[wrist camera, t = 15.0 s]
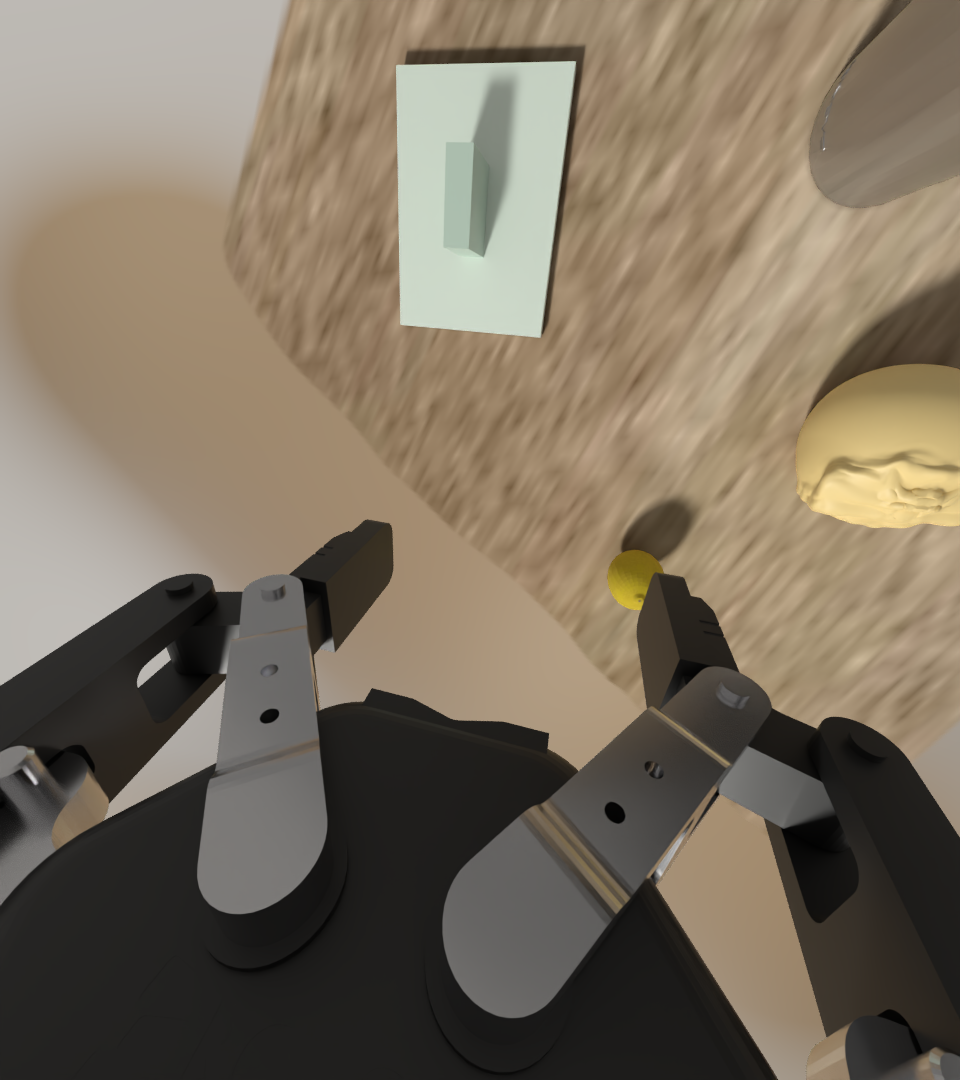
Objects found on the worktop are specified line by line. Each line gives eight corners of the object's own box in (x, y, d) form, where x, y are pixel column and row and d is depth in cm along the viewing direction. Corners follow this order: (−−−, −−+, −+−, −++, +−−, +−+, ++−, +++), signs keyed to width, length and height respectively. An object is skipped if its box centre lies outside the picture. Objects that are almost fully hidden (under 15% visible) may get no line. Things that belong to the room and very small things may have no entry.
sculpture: (760, 492, 40) (810, 543, 31) (807, 356, 34) (886, 369, 25) (899, 504, 38) (999, 564, 29) (974, 361, 32) (1129, 377, 23)
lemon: (635, 589, 48) (642, 633, 41) (596, 562, 48) (596, 603, 41) (670, 556, 45) (684, 598, 38) (629, 528, 45) (636, 565, 38)
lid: (576, 73, 30) (573, 15, 25) (542, 336, 39) (533, 339, 33) (404, 75, 33) (364, 24, 27) (406, 324, 41) (377, 325, 35)
